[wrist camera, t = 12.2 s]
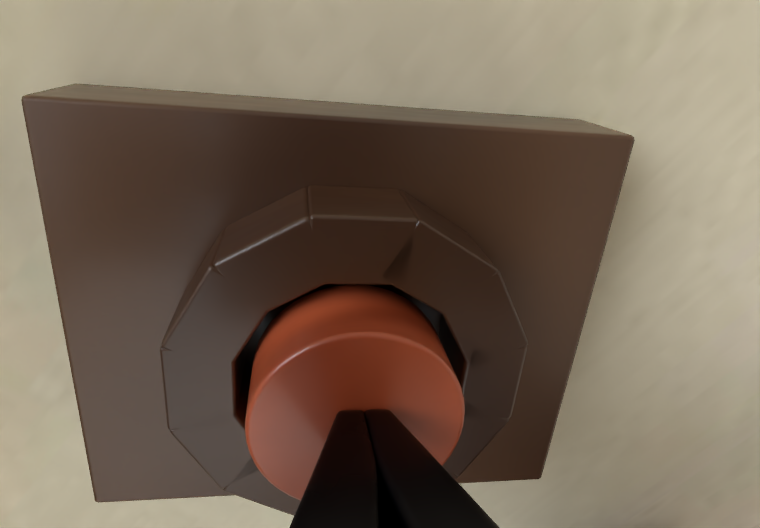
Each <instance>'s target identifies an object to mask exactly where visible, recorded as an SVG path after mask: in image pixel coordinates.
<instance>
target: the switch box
mask: <svg viewBox="0 0 760 528" xmlns="http://www.w3.org/2000/svg"><path fill="white" fill-rule="evenodd" d="M22 105H23V111H24V116H25V122H26V127H27V132H28V138H29V143H30V149H31V154H32V160H33V165H34V171H35V176H36V181H37V187H38V192H39V198H40V203H41V209H42V214H43V220H44V225H45V230H46V236H47V241H48V247H49V252H50V258H51V263H52V268H53V274H54V279H55V285H56V290H57V296H58V301H59V307H60V312H61V317H62V323H63V328H64V334H65V339H66V345H67V350H68V356H69V361H70V366H71V372H72V377H73V383H74V388H75V394H76V399H77V405H78V410H79V415H80V421H81V426H82V432H83V437H84V443H85V448H86V454H87V459H88V464H89V470H90V475H91V481H92V486H93V492H94V497H95V501H96V502H115V501H134V500H152V499H171V498H190V497H209V496H228V495H237V496H240V497H243V498H246V499H249V500H251V501H254V502H257V503H260V504H263V505H266V506H268V507H271V508H274V509H277V510H280V511H282V512H285V513H288V514H291V515H294V516H295V513H296V511H297V509H298V506H299V504H300V500H298V499H296V498H293V497H291V496H289V495H287V494H286V493H284V492H282V491H281V490H279V489H278V488H276V487H275V486H274V485H273V484H271V483H270V482H269V481H268V480H267V479H266V478H265V477H264V476H263V475H262V473H261V472H260V471H259V469H258V468H257V466H256V465H255V463H254V461H253V459H252V457H251V455H250V453H249V450H248V446H247V443H246V436H245V417H246V410H247V403H248V395H249V388H250V381H251V373H252V366H253V359H254V355H255V350H256V347H257V345H258V342H259V340H260V338H261V336H262V334H263V333H264V331H265V329H266V328H267V327H268V325H269V324H270V323H271V321H272V320H273V319H274V318H275V317H276V316H277V315H278V314H279V313H280V312H281V311H282V310H284V309H285V308H286V307H288V306H289V305H290V304H292V303H293V302H295V301H296V300H298V299H300V298H302V297H303V296H305V295H308V294H310V293H313V292H315V291H318V290H321V289H325V288H328V287H333V286H339V285H354V284H356V285H369V286H374V287H379V288H383V289H386V290H389V291H392V292H394V293H396V294H398V295H400V296H402V297H404V298H406V299H407V300H409V301H410V302H412V303H413V304H415V305H416V306H417V307H418V308H419V309H420V310H421V311H422V312H423V313H424V314H425V315H426V316H427V318H428V319H429V320H430V322H431V324H432V325H433V327H434V329H435V331H436V333H437V335H438V337H439V339H440V342H441V344H442V346H443V348H444V350H445V352H446V355H447V357H448V359H449V361H450V363H451V365H452V368H453V370H454V372H455V374H456V376H457V378H458V381H459V383H460V386H461V388H462V392H463V397H464V404H465V414H464V423H463V428H462V431H461V435H460V438H459V440H458V442H457V445H456V447H455V449H454V450H453V452H452V454H451V455H450V457H449V458H448V459H447V461H446V462H445V463H444V464H443V467H444V469H445V470H446V471H447V472H448V473H449V474H450V475H451V476H452V477H453V478H454V479H455V480H456V481H457V483H472V482H490V481H509V480H528V479H539V478H541V475H542V472H543V468H544V464H545V461H546V457H547V454H548V450H549V446H550V443H551V439H552V436H553V432H554V428H555V425H556V421H557V418H558V414H559V410H560V407H561V403H562V399H563V396H564V392H565V389H566V385H567V381H568V378H569V374H570V371H571V367H572V363H573V360H574V356H575V353H576V349H577V345H578V342H579V338H580V335H581V331H582V327H583V324H584V320H585V317H586V313H587V309H588V306H589V302H590V299H591V295H592V291H593V288H594V284H595V281H596V277H597V273H598V270H599V266H600V263H601V259H602V255H603V252H604V248H605V245H606V241H607V237H608V234H609V230H610V227H611V223H612V219H613V216H614V212H615V208H616V205H617V201H618V198H619V194H620V190H621V187H622V183H623V180H624V176H625V172H626V169H627V165H628V162H629V158H630V154H631V151H632V147H633V144H634V137H633V136H631V135H628V134H625V133H622V132H619V131H615V130H612V129H609V128H606V127H602V126H599V125H596V124H593V123H589V122H586V121H583V120H578V119H564V118H550V117H536V116H522V115H508V114H494V113H480V112H466V111H451V110H437V109H423V108H409V107H395V106H381V105H367V104H353V103H339V102H325V101H311V100H297V99H283V98H269V97H255V96H241V95H227V94H213V93H199V92H185V91H171V90H157V89H142V88H128V87H114V86H100V85H86V84H72V85H68V86H63V87H59V88H54V89H50V90H46V91H41V92H37V93H33V94H28V95H25V96H23V97H22Z"/></svg>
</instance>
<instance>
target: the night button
mask: <svg viewBox="0 0 760 528" xmlns="http://www.w3.org/2000/svg"><path fill="white" fill-rule="evenodd" d="M377 409H387V410H390V411H391V412H392V413H393V414H394V415H395V416H396V417H397V418H398V419H399V420H400V421H401V422H402V423H403V424H404V426H405V427H406V428H407V429H408V430H409V431H410V432H411V433H412V434H413V435H414V436H415V437H416V438H417V440H418V441H419V442H420V443H421V444H422V445H423V446H424V447H425V448H426V449H427V450H428V451H429V452H430V453H431V455H432V456H433V457H434V458H435V459H436V460H437V461H438V462H439V463H440V464H441V465H442V466H443V464H444V463H445V462H446V461H447V459H448V458H449V457H450V455H451V454H452V452H453V450H454V449H455V447H456V445H457V442H458V440H459V438H460V435H461V431H462V428H463V423H464V414H465V404H464V397H463V392H462V388H461V386H460V383H459V381H458V378H457V376H456V374H455V372H454V370H453V368H452V365H451V363H450V361H449V359H448V357H447V355H446V352H445V350H444V348H443V346H442V344H441V342H440V339H439V337H438V335H437V333H436V331H435V329H434V327H433V325H432V324H431V322H430V320H429V319H428V318H427V316H426V315H425V314H424V313H423V312H422V311H421V310H420V309H419V308H418V307H417V306H416V305H415V304H413V303H412V302H410V301H409V300H407V299H406V298H404V297H402V296H400V295H398V294H396V293H394V292H392V291H389V290H386V289H383V288H379V287H374V286H369V285H356V284H354V285H339V286H333V287H328V288H325V289H321V290H318V291H315V292H313V293H310V294H308V295H305V296H303V297H302V298H300V299H298V300H296V301H295V302H293V303H292V304H290V305H289V306H288V307H286V308H285V309H284V310H282V311H281V312H280V313H279V314H278V315H277V316H276V317H275V318H274V319H273V320H272V321H271V323H270V324H269V325H268V327H267V328H266V329H265V331H264V333H263V334H262V336H261V338H260V340H259V342H258V345H257V347H256V350H255V355H254V359H253V366H252V373H251V381H250V388H249V395H248V403H247V410H246V417H245V436H246V443H247V446H248V450H249V453H250V455H251V457H252V459H253V461H254V463H255V465H256V466H257V468H258V469H259V471H260V472H261V473H262V475H263V476H264V477H265V478H266V479H267V480H268V481H269V482H270V483H271V484H273V485H274V486H275V487H276V488H278V489H279V490H281V491H282V492H284V493H286V494H287V495H289V496H291V497H293V498H296V499H298V500H300V501H301V499H302V497H303V494H304V492H305V489H306V487H307V485H308V482H309V480H310V477H311V475H312V473H313V470H314V468H315V465H316V463H317V461H318V458H319V456H320V453H321V451H322V449H323V446H324V444H325V441H326V439H327V436H328V434H329V432H330V429H331V427H332V424H333V422H334V420H335V417H336V415H337V413H338V412H339V411H342V410H361V411H363V413H365V411H367V410H377Z"/></svg>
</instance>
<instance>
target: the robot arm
mask: <svg viewBox="0 0 760 528" xmlns="http://www.w3.org/2000/svg"><path fill="white" fill-rule="evenodd" d="M290 528H499V527H498V526H497V524H496V523H495V522H494V521H493V520H492V519H491V518H490V517H489V516H488V515H487V514H486V513H485V512H484V511H483V509H482V508H481V507H480V506H479V505H478V504H477V503H476V502H475V501H474V500H473V499H472V498H471V497H470V495H469V494H468V493H467V492H466V491H465V490H464V489H463V488H462V487H461V486H460V485H459V484H458V483H457V481H456V480H455V479H454V478H453V477H452V476H451V475H450V474H449V473H448V472H447V471H446V470H445V469H444V467H443V466H442V465H441V464H440V463H439V462H438V461H437V460H436V459H435V458H434V457H433V456H432V455H431V453H430V452H429V451H428V450H427V449H426V448H425V447H424V446H423V445H422V444H421V443H420V442H419V441H418V440H417V438H416V437H415V436H414V435H413V434H412V433H411V432H410V431H409V430H408V429H407V428H406V427H405V426H404V424H403V423H402V422H401V421H400V420H399V419H398V418H397V417H396V416H395V415H394V414H393V413H392V412H391V411H390V410H387V409H377V410H367V411H365V413H363V411H361V410H342V411H339V412H338V413H337V415H336V417H335V420H334V422H333V424H332V427H331V429H330V432H329V434H328V436H327V439H326V441H325V444H324V446H323V449H322V451H321V453H320V456H319V458H318V461H317V463H316V465H315V468H314V470H313V473H312V475H311V477H310V480H309V482H308V485H307V487H306V489H305V492H304V494H303V497H302V499H301V501H300V504H299V506H298V509H297V511H296V513H295V516H294V518H293V521H292V523H291V525H290Z"/></svg>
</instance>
